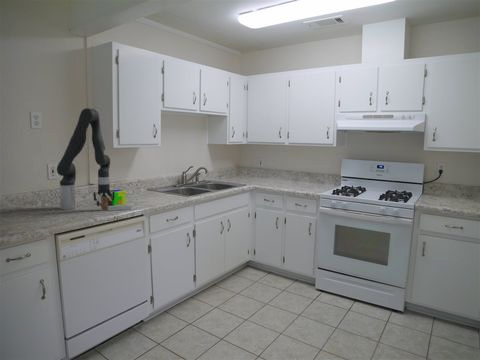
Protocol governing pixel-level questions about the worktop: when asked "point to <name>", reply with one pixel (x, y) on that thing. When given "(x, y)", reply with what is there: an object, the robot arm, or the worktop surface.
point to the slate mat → (119, 208)
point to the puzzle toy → (118, 197)
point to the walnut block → (104, 203)
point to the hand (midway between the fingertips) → (104, 206)
